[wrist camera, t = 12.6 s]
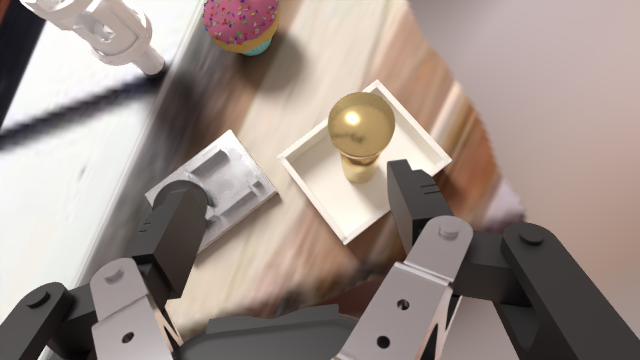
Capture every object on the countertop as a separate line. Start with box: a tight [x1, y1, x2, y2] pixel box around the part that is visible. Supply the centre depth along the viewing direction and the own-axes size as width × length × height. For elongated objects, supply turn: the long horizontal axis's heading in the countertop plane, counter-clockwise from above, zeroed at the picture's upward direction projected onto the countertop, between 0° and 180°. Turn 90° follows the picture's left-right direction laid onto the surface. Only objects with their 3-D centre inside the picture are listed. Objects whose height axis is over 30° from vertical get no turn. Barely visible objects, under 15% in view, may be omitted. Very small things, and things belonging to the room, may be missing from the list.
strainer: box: [20, 0, 164, 75], centre depth 34 cm, size 7×7×15 cm
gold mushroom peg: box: [328, 92, 395, 184], centre depth 29 cm, size 5×5×13 cm
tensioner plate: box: [145, 130, 278, 256], centre depth 35 cm, size 12×9×3 cm
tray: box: [277, 79, 452, 245], centre depth 34 cm, size 13×11×4 cm
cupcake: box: [203, 0, 280, 56], centre depth 35 cm, size 9×8×12 cm
